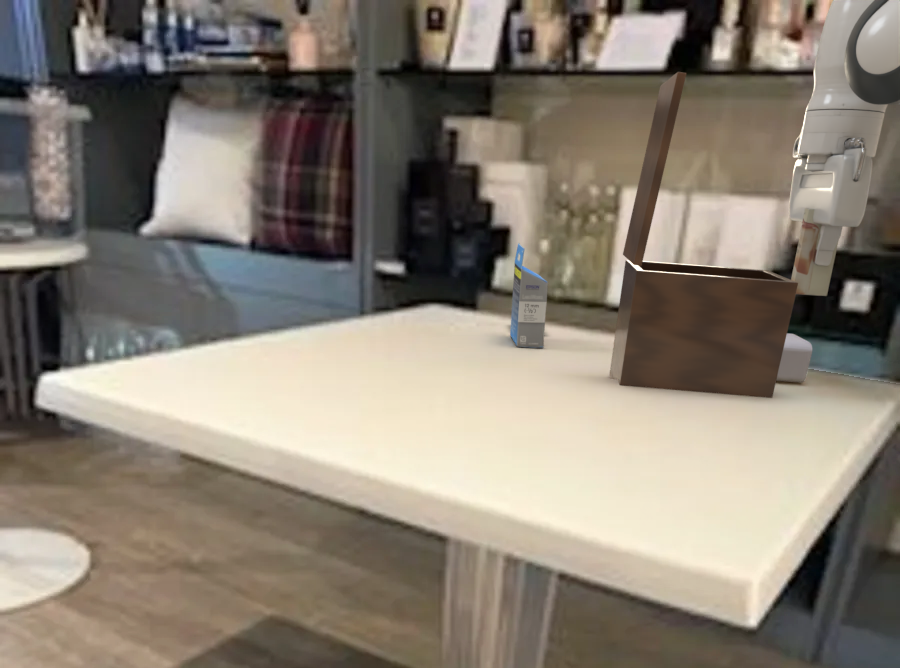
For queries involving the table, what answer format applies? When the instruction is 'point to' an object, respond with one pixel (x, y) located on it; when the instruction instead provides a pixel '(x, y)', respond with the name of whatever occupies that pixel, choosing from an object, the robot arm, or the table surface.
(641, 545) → the table surface
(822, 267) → the cosmetics bottle
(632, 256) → the lid
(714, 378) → the chest
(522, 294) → the label tape box
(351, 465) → the table surface
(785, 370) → the charger
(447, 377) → the table surface
